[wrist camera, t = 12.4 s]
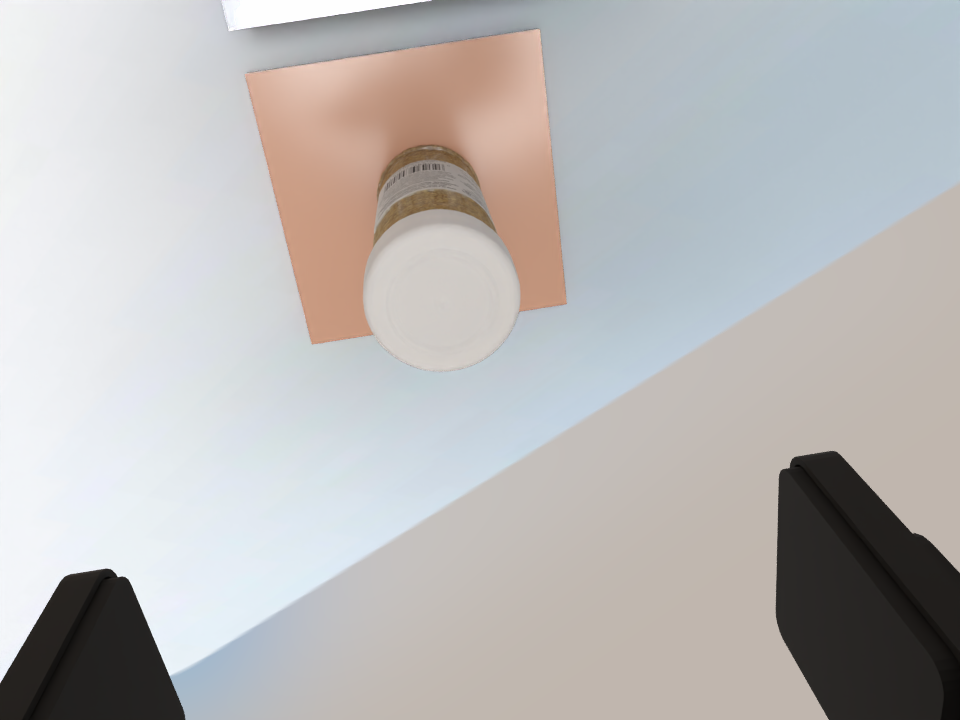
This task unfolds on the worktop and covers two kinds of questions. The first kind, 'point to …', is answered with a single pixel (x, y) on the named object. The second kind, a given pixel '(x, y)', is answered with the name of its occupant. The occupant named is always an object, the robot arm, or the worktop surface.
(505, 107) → the coaster
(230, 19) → the socket bar
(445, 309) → the sprinkles bottle
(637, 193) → the worktop surface
